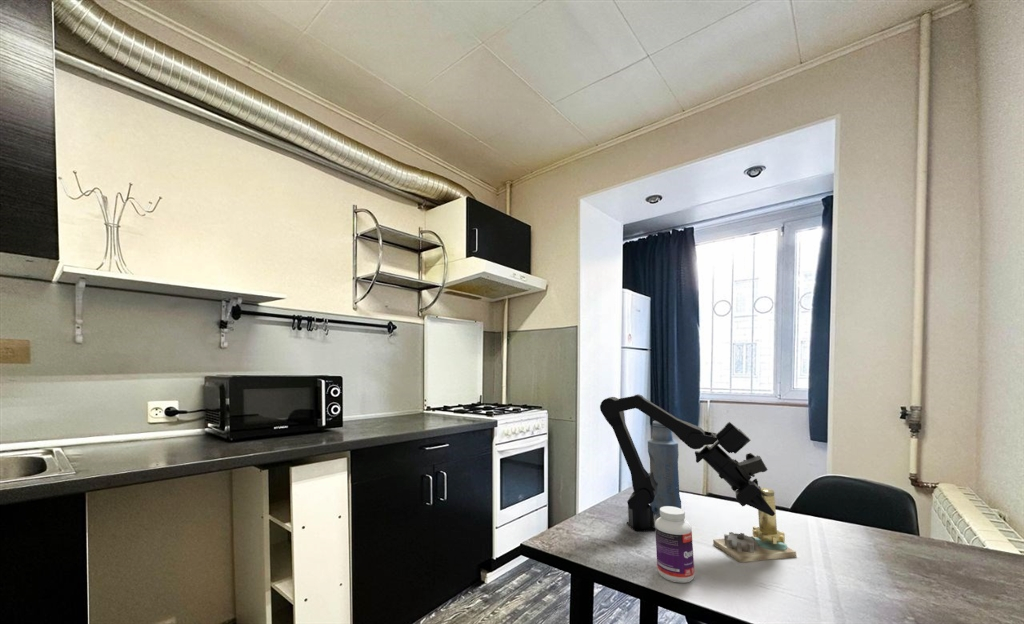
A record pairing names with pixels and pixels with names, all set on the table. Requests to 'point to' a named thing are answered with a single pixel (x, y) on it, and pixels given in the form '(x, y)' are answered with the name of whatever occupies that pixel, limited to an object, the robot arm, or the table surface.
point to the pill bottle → (674, 545)
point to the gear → (768, 521)
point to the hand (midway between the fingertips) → (772, 512)
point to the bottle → (664, 467)
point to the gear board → (752, 548)
